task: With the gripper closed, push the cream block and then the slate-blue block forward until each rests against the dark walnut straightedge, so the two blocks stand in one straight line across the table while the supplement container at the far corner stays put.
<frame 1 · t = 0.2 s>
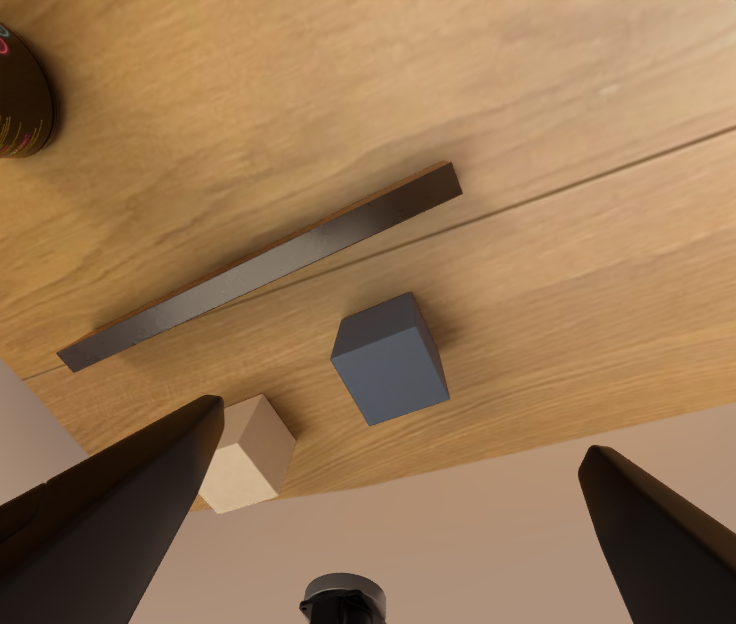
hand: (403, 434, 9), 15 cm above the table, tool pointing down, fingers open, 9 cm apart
supplement container: (7, 91, 20), on the table
cream block: (253, 427, 28), on the table
slate block: (390, 336, 24), on the table
straightedge: (251, 267, 23), on the table
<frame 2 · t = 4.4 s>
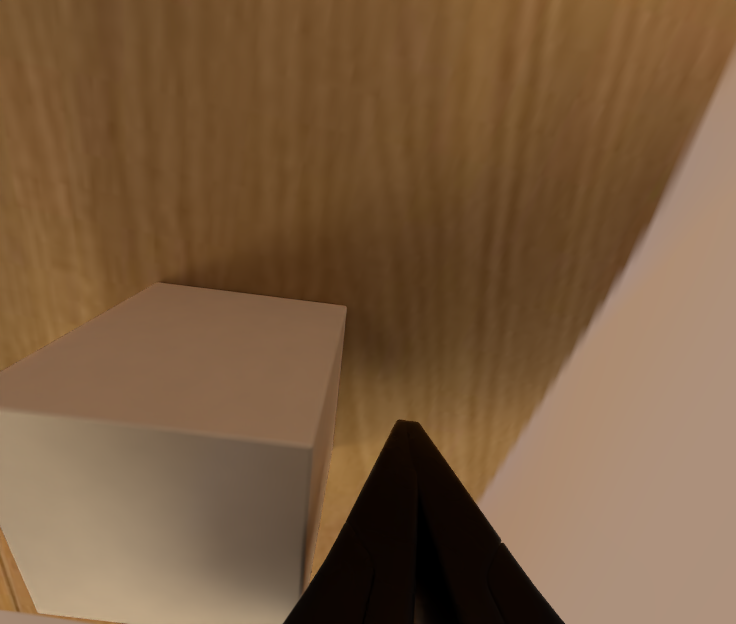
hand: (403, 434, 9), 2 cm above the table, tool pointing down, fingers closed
cream block: (253, 373, 10), on the table, touching gripper
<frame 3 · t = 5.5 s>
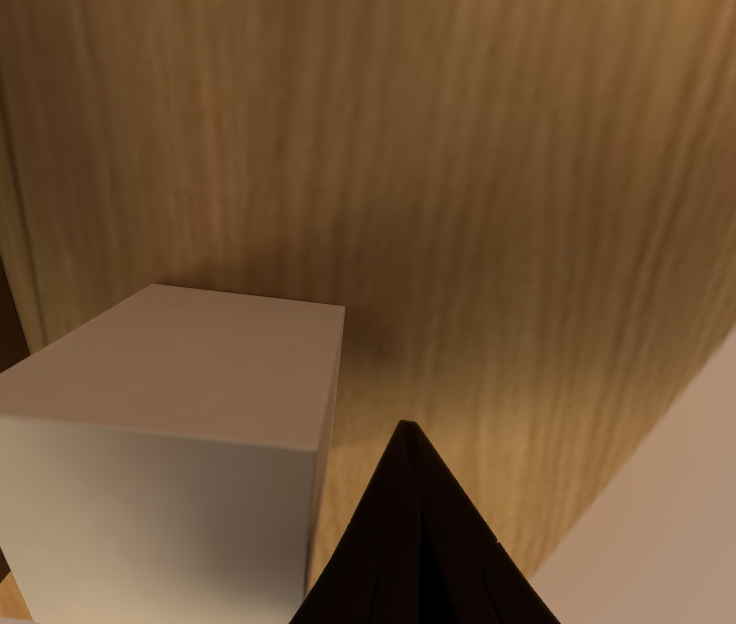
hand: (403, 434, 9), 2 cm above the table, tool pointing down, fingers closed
cream block: (250, 375, 10), on the table, touching gripper
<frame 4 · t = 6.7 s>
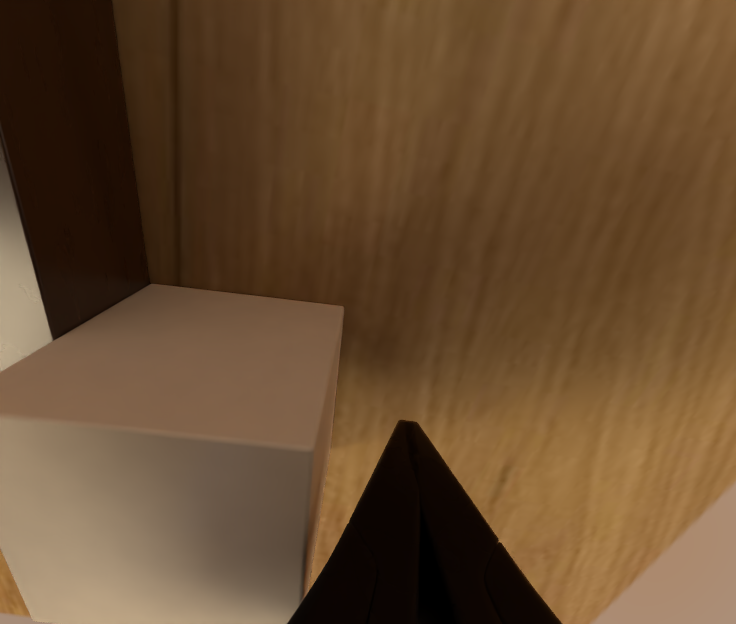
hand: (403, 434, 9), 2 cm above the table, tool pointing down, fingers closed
cream block: (249, 374, 10), on the table, touching gripper, straightedge
straightedge: (82, 69, 7), on the table
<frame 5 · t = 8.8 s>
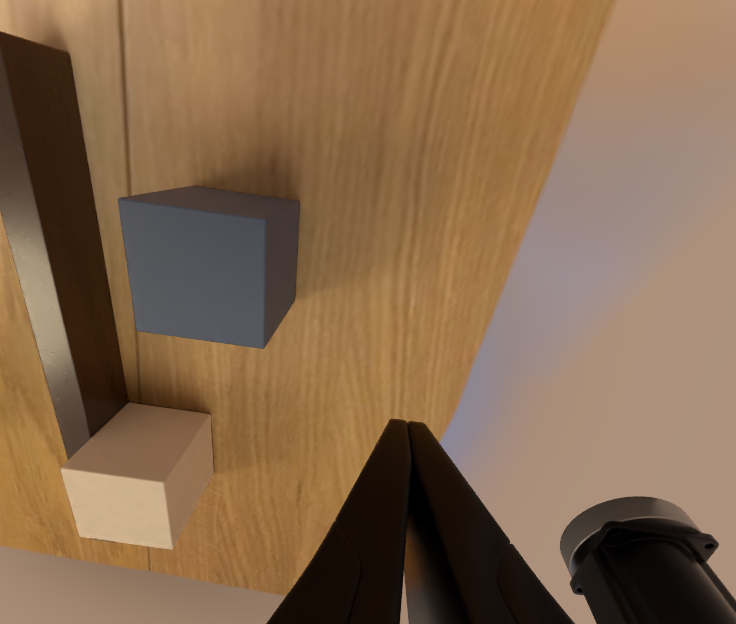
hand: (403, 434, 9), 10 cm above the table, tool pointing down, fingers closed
cream block: (173, 439, 23), on the table
slate block: (246, 246, 18), on the table
straightedge: (102, 333, 20), on the table
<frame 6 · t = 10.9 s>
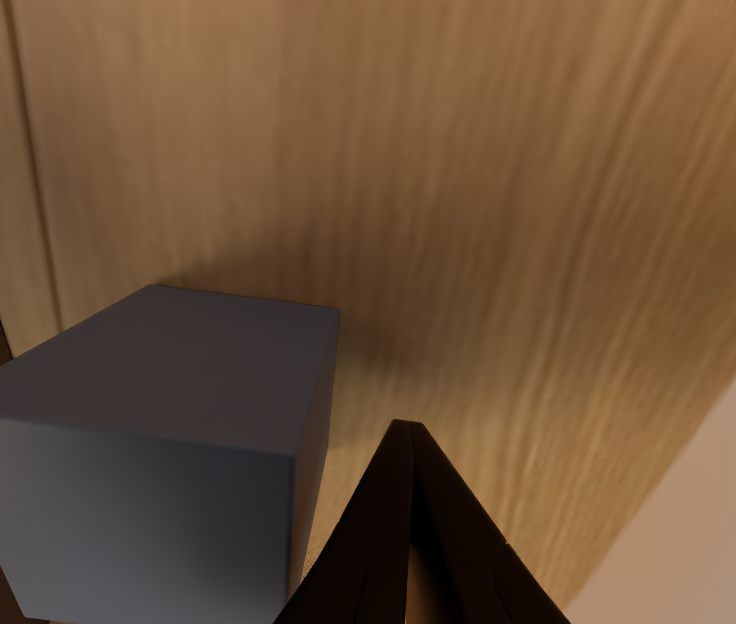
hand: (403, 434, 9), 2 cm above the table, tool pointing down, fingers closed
slate block: (246, 376, 10), on the table, touching gripper
straightedge: (34, 491, 13), on the table
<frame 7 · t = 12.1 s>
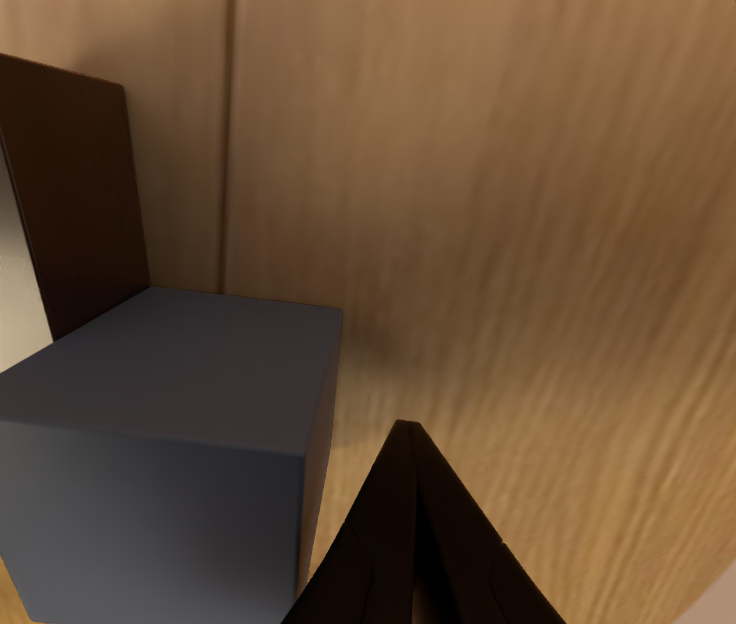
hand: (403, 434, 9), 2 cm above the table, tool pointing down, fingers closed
slate block: (249, 377, 10), on the table, touching gripper, straightedge
straightedge: (159, 509, 13), on the table
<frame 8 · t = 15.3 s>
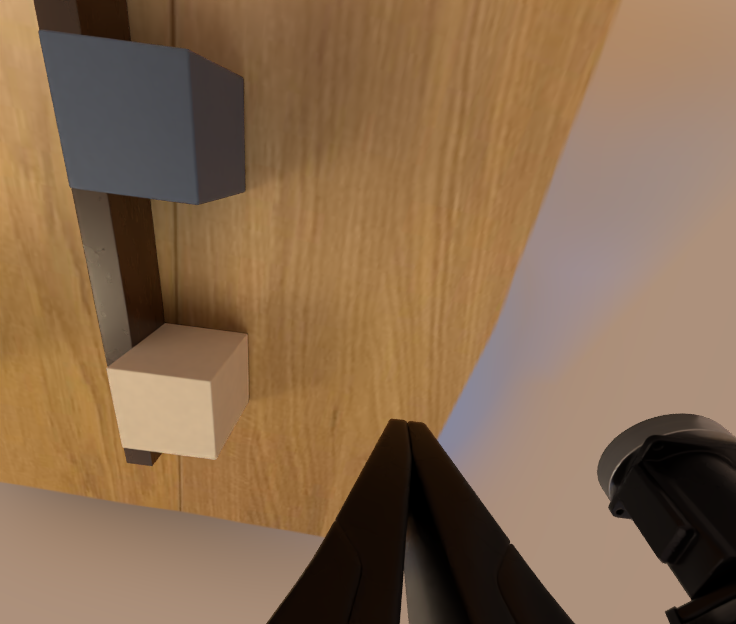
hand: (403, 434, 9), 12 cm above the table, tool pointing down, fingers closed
cream block: (209, 363, 23), on the table
slate block: (193, 131, 17), on the table
straightedge: (141, 246, 20), on the table
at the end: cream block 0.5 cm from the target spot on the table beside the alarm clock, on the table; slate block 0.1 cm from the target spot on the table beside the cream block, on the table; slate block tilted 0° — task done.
